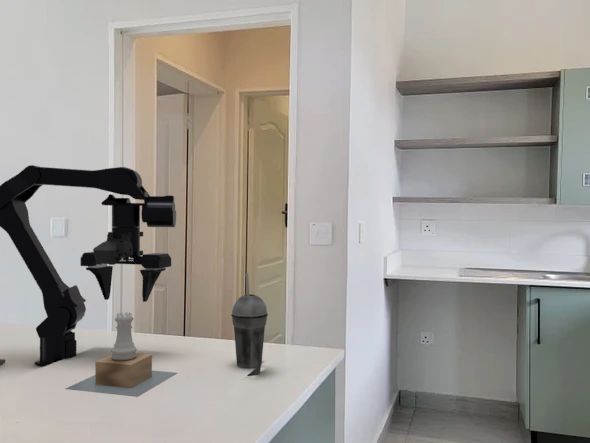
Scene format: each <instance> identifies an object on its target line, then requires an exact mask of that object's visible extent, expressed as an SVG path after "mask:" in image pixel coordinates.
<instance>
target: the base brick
mask: <svg viewBox="0 0 590 443" xmlns="http://www.w3.org/2000/svg"><path fill="white" fill-rule="evenodd" d="M136 354H137V356H136V357H135V358H134V359H132V360H127V361H116V360H113V358H112V357H111V356H112V355H113V354H111V355H108V356H105V357H104V358H101V359H98V360H97V361H95V364H94V365H95V367H94V368H95V369H94V370H95V374H94V375H95V384H96V385H106V386H115V387H125V388H132V387H134V386H135V385H137V384H139V383H141V382H143V381H145V380H146V379H148V378H150V377H152V369H153V368H152V367H153V364H152V363H153V355H152V354H147V353H145V354H144V353H136Z"/></svg>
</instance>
